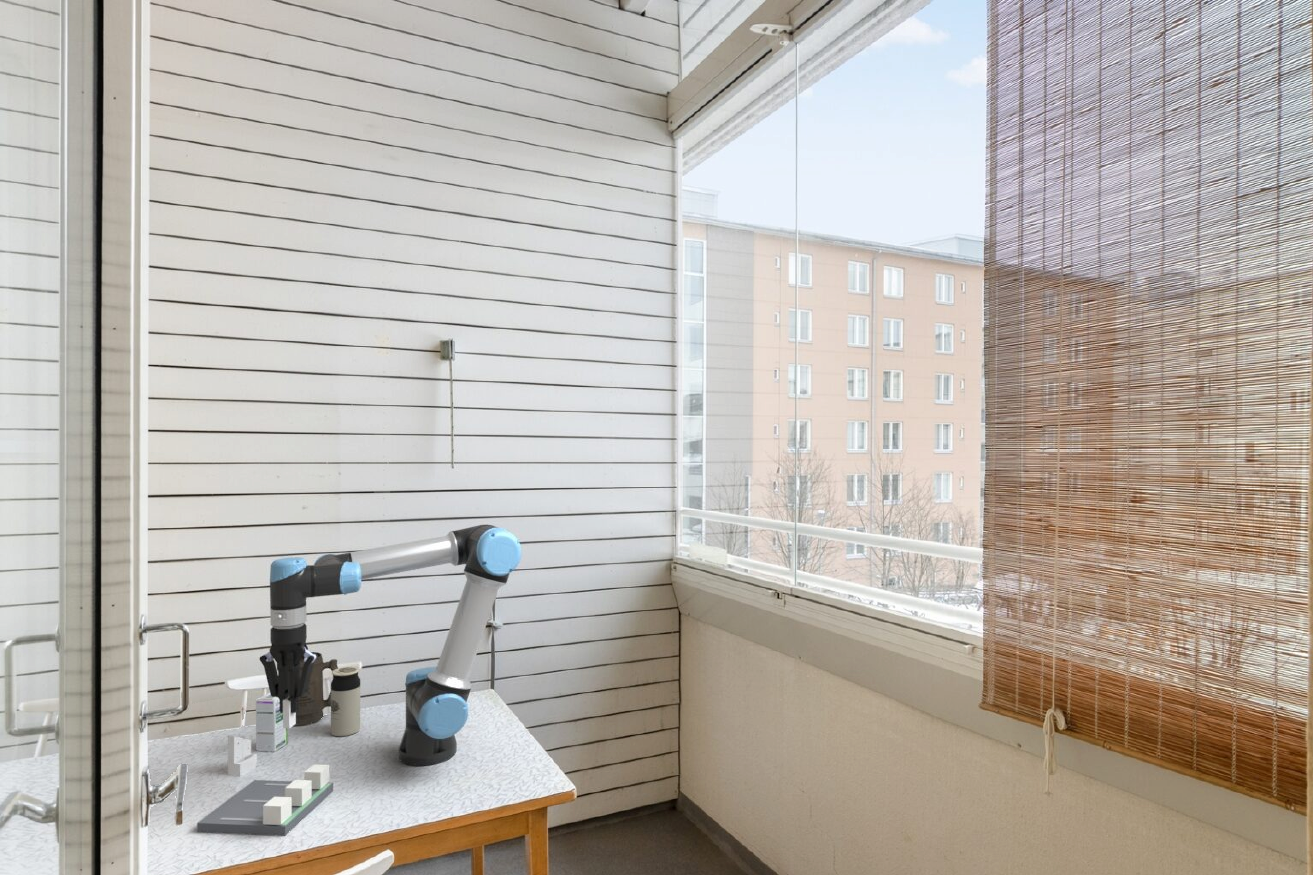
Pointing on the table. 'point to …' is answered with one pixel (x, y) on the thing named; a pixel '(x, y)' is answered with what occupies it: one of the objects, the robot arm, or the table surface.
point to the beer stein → (314, 693)
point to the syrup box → (269, 724)
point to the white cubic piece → (317, 775)
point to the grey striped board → (258, 810)
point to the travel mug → (345, 701)
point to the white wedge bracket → (240, 756)
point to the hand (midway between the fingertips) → (289, 725)
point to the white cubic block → (299, 791)
